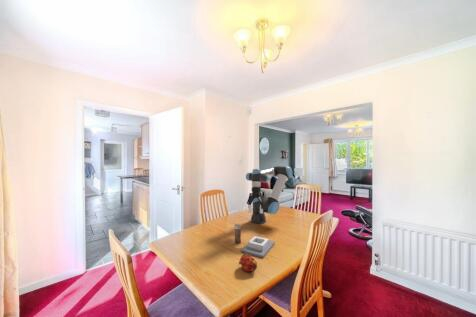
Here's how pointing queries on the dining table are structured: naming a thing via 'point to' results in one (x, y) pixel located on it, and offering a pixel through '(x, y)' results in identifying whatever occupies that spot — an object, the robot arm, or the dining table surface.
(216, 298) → the dining table surface
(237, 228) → the cream round-topped cylinder
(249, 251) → the socket board
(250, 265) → the dragon fruit
